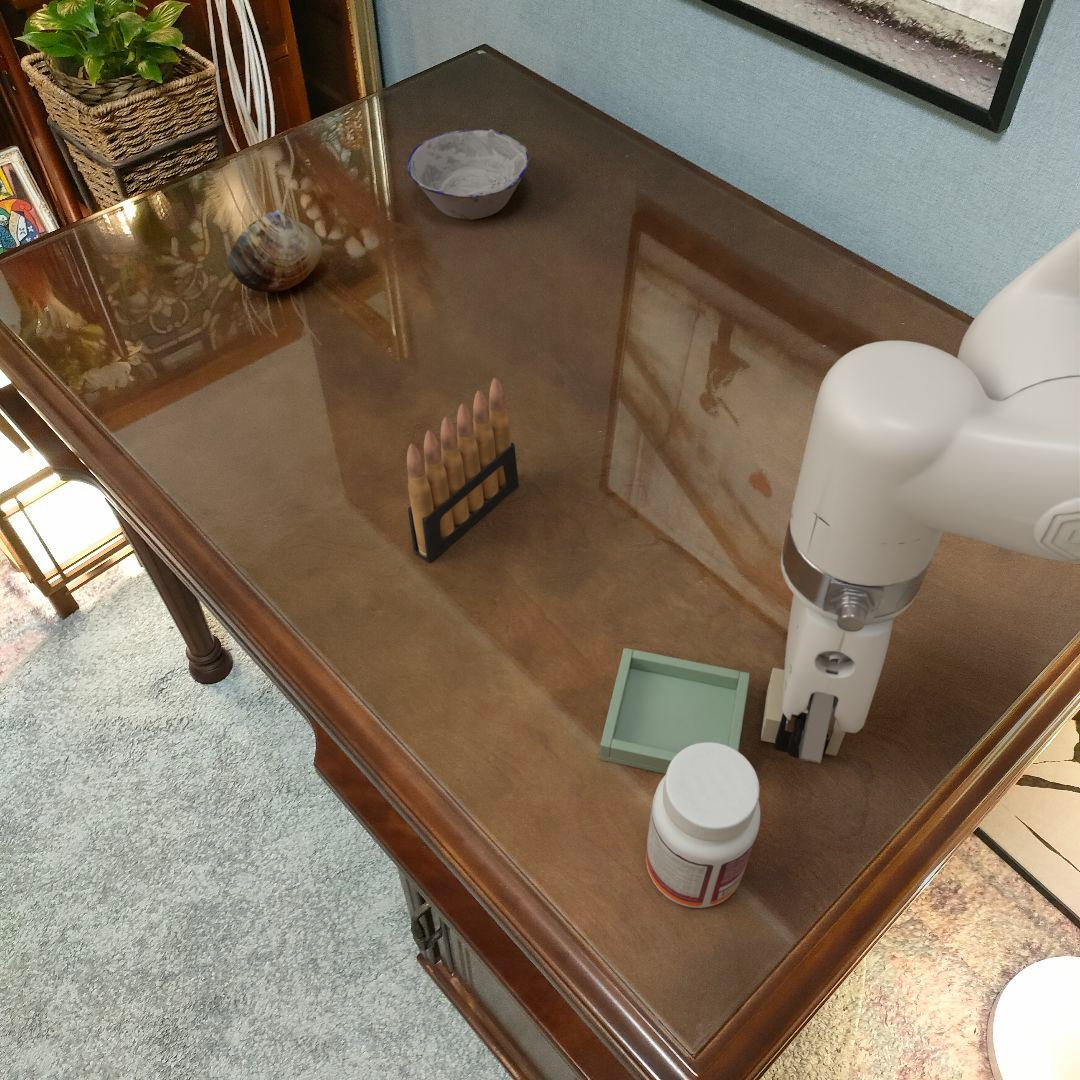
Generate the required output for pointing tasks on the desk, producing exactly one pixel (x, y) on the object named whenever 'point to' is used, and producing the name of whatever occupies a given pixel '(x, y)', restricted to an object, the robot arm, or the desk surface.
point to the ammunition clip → (460, 474)
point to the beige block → (775, 714)
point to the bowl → (469, 171)
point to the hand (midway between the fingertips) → (802, 718)
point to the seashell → (274, 253)
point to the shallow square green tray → (670, 709)
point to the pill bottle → (703, 825)
